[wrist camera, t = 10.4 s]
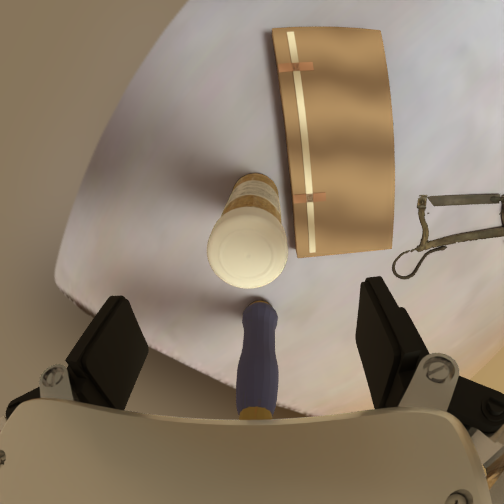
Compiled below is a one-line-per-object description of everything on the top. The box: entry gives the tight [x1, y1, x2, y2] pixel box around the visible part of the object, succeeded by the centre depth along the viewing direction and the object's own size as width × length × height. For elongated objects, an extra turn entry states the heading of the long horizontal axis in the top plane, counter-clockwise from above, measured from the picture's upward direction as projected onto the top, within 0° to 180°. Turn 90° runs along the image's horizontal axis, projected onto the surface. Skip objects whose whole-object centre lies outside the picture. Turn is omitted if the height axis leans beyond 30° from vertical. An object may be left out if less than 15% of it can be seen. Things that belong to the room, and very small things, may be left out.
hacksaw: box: [392, 194, 504, 279], centre depth 28 cm, size 24×10×2 cm, turn 98°
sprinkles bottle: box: [207, 173, 288, 288], centre depth 22 cm, size 5×5×14 cm
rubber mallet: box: [236, 301, 278, 420], centre depth 20 cm, size 12×8×30 cm, turn 85°
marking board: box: [272, 27, 395, 258], centre depth 24 cm, size 22×10×2 cm, turn 7°
